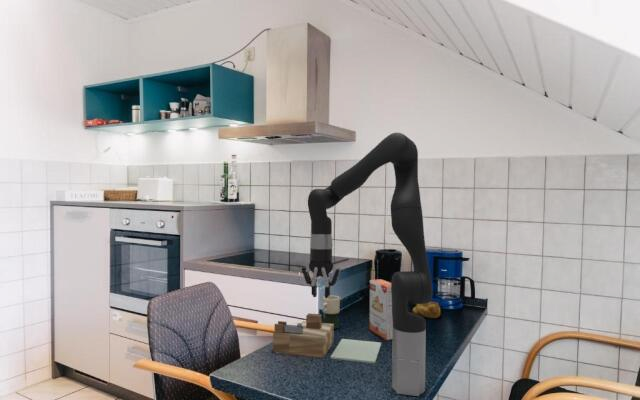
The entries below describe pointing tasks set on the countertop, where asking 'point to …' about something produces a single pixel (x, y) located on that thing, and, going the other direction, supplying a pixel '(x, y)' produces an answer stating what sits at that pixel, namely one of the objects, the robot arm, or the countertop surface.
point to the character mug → (331, 309)
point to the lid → (313, 328)
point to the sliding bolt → (293, 328)
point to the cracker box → (381, 309)
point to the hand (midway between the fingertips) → (320, 296)
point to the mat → (357, 351)
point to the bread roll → (427, 310)
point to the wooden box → (300, 343)
